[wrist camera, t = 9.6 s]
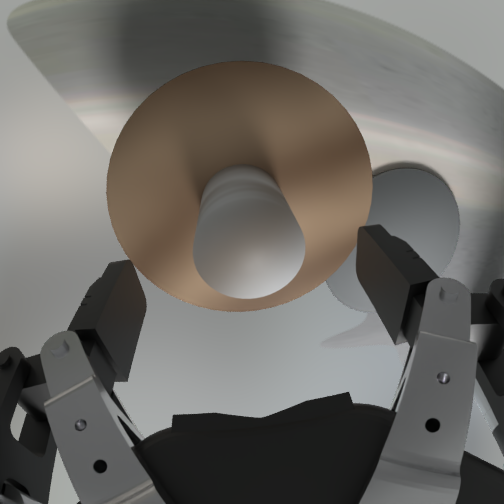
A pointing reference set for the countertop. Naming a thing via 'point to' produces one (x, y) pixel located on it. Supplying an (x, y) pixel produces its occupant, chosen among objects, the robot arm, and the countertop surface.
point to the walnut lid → (239, 186)
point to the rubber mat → (405, 227)
